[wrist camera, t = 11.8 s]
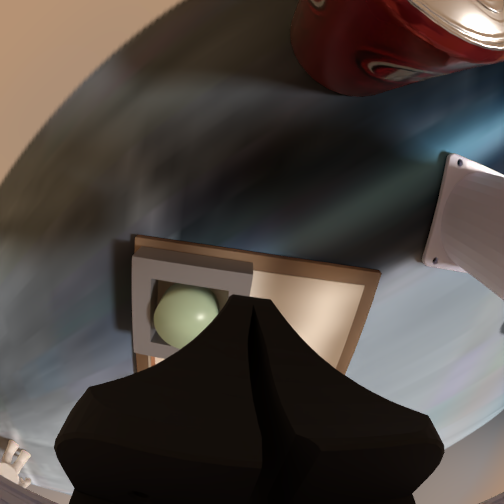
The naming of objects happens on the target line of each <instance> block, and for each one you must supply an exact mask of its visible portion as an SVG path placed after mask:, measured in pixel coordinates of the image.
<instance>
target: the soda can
mask: <svg viewBox="0 0 504 504" xmlns="http://www.w3.org/2000/svg"><path fill="white" fill-rule="evenodd" d="M290 37H291V44H292V47H293V51H294V54H295V56H296V57H297V59H298V61H299V63H300V64H301V66H302V67H303V68H304V70H305V71H306V72H307V73H308V74H309V75H310V76H311V77H312V78H313V79H314V80H315V81H317V82H318V83H320V84H321V85H323V86H324V87H326V88H328V89H330V90H332V91H335V92H337V93H340V94H344V95H348V96H357V97H365V96H373V95H376V94H379V93H382V92H385V91H389V90H392V89H395V88H398V87H402V86H405V85H409V84H412V83H416V82H419V81H423V80H426V79H430V78H434V77H438V76H442V75H446V74H450V73H454V72H458V71H462V70H467V69H471V68H476V67H480V66H485V65H490V64H495V63H499V62H504V0H299V2H298V5H297V8H296V10H295V13H294V16H293V19H292V22H291V28H290Z"/></svg>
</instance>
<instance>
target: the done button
mask: <svg viewBox="0 0 504 504" xmlns="http://www.w3.org/2000/svg"><path fill="white" fill-rule="evenodd" d="M219 312H220V306H219V302H218V300H217V298H216V296H215V295H214V293H213V292H212V291H211V290H210V289H209V288H207V287H200V286H194V285H187V284H181V283H175V284H173V285H172V286H170V287H169V288H168V289H167V290H166V291H165V293H164V295H163V297H162V299H161V301H160V302H159V304H158V306H157V308H156V310H155V313H154V326H155V329H156V331H157V333H158V334H159V336H160V337H161V338H162V339H163V340H164V341H165V342H166V343H168V344H169V345H171V346H173V347H175V348H178V349H181V348H183V347H184V346H185V345H187V344H188V343H189V342H191V341H192V340H193V339H194V338H195V337H197V336H198V335H199V334H200V333H201V332H202V331H203V330H204V329H205V328H206V327H207V326H208V325H209V324H210V323H211V322H212V321H213V319H214V318H215V317H216V316H217V315H218V313H219Z"/></svg>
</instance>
